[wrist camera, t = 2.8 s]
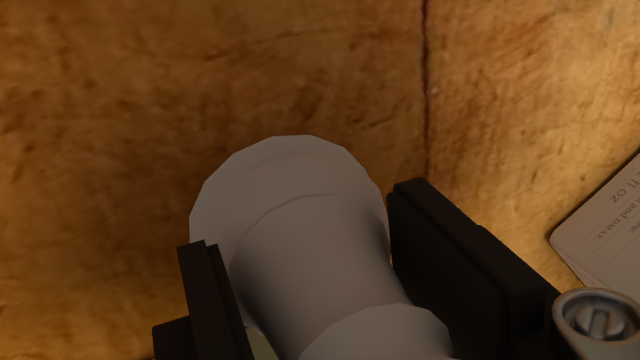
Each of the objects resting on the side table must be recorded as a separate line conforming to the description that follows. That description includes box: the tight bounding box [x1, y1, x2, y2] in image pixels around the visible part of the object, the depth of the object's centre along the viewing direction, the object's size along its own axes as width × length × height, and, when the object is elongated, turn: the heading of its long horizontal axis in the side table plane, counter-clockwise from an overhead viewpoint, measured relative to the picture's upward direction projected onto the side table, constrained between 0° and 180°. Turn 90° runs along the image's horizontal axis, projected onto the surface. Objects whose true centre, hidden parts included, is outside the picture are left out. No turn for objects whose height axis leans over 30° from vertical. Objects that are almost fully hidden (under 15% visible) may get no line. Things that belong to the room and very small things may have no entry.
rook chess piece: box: [189, 135, 459, 360], centre depth 10 cm, size 4×4×8 cm
